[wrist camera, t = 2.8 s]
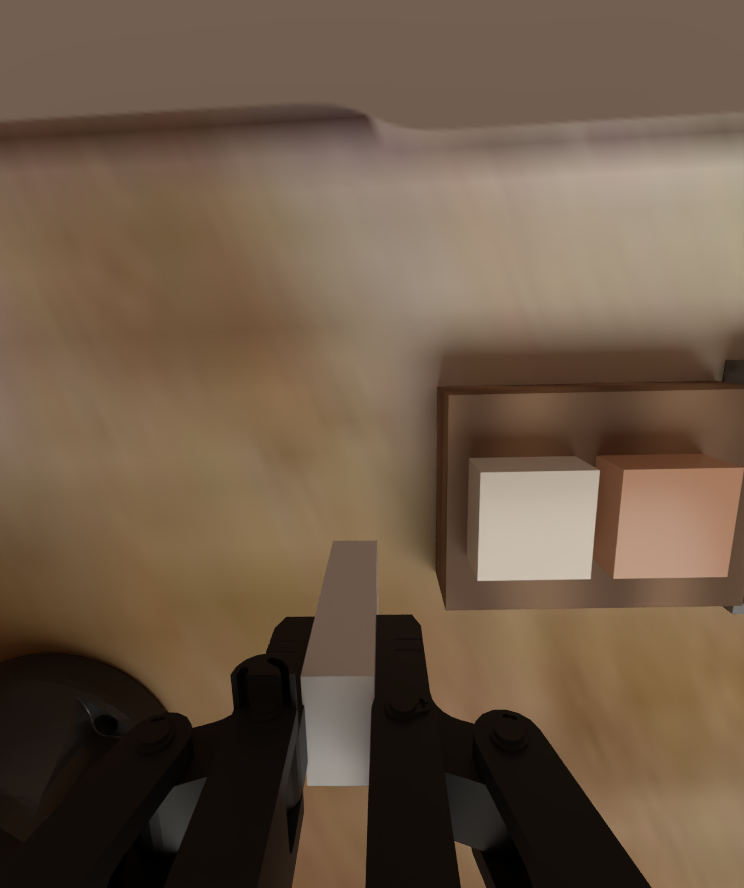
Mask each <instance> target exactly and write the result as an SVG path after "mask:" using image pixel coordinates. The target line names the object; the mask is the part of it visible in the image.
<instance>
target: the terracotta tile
mask: <svg viewBox="0 0 744 888" xmlns="http://www.w3.org/2000/svg"><path fill="white" fill-rule="evenodd" d="M595 468H597V469H599V470H600V476H599V487H598V499H597V510H596V522H595V533H594V545H593V557H592V558H593V559H594V560H595V561H596V562H597V563H598V564H599V565H600V566H601V567H602V568H603V569H604V570H605V571H606V572H607V573H608V574H609V575H610V576H611V577H612V578H613V579H633V578H695V577H727V575H728V569H729V562H730V556H731V549H732V543H733V537H734V530H735V524H736V517H737V511H738V504H739V498H740V492H741V485H742V479H743V472H744V467H741V466H738V465H735V464H732V463H729V462H726V461H723V460H721V459H718V458H715V457H712V456H709V455H706V454H654V455H602V456H596V466H595Z"/></svg>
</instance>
